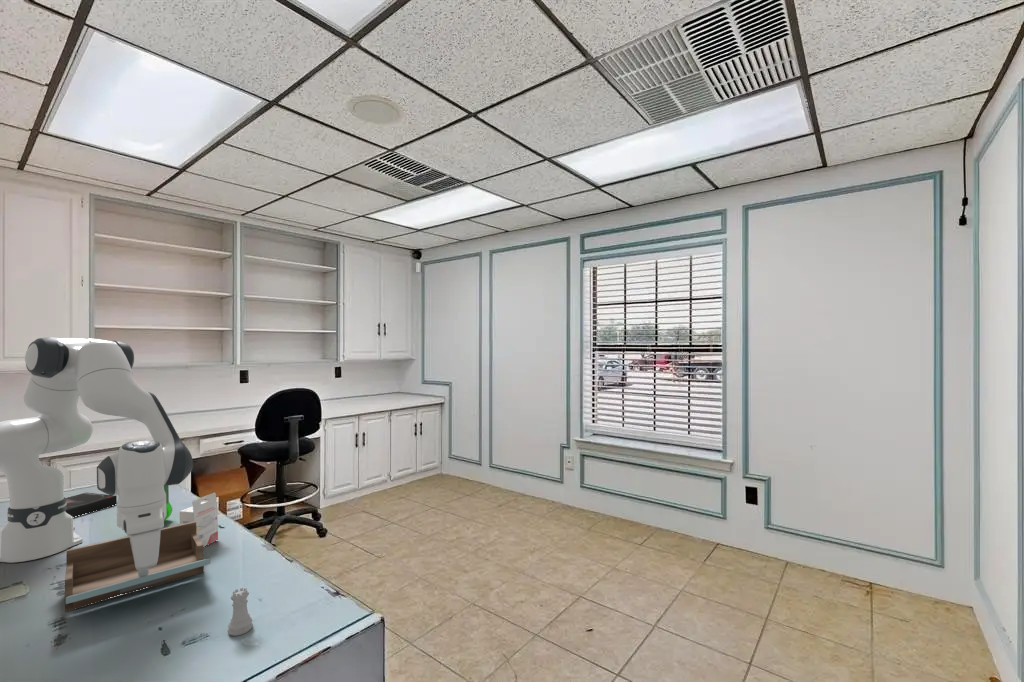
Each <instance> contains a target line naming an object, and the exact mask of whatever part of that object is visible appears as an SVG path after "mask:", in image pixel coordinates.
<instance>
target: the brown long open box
mask: <svg viewBox="0 0 1024 682" xmlns="http://www.w3.org/2000/svg"><path fill="white" fill-rule="evenodd" d="M65 551H66V555H65V557H66V559H65V560H66V562H65V563H66V565H65V572H64V573H65V575H64V613H67V612H70V611H69V610H71V611H74V610H76V609H75V608H78V609H80V608H79V607H81V608H83V607H82V606H84V607H86V606H85V605H88V604H91V603H95V602H98V601H101V600H105V599H108V598H110V597H114V596H117V595H120V594H125V593H129V592H133V591H136V590H140V589H143V588H146V587H151V586H154V587H157V586H156V585H158V586H160V585H159V584H161V585H164V584H167V582H168V583H171V582H174V581H173V580H175V581H177V579H178V580H181V579H180V578H182V579H184V578H188V577H192V576H195V575H199V574H202V573H203V574H204V573H205V569H204V567H205V566H201V567H198V568H194V569H190V570H187V571H183V572H180V573H176V574H173V575H169V576H166V580H164V581H161V582H157V583H154V584H150V585H147V586H143V587H140V588H136V589H133V590H129V591H126V592H122V593H120V589H119V590H115V591H112V592H108V593H105V594H101V595H97V596H94V597H90V598H87V599H83V600H80V601H76V602H72V603H69V604H66V597H68V596H71V595H75V594H79V593H82V592H86V591H90V590H93V589H97V588H101V587H105V586H108V585H112V584H116V583H119V582H123V581H127V580H130V579H134V578H138V577H139V576H138V570H136V567H135V563H134V558H133V553H132V549H131V544H130V538H129V536H128V535H127V536H122V537H118V538H114V539H109V540H105V541H101V542H100V541H99V542H96V543H92V544H86V545H83V546H78V547H72V548H70V549H69V548H67V549H65ZM204 552H205V551H204V548H203V544H202V542H201V540H200V538H199V537H198V535H197V533H196V521H193V522H189V523H184V524H180V523H179V524H176V525H172V526H168V527H167V526H166V527H163V528H161V534H160V546H159V556H158V561H157V564H156V565H155V566H153V567H149V573H148V575H149V574H152V573H156V572H160V571H163V570H167V569H171V568H174V567H178V566H182V565H185V564H189V563H193V562H196V561H200V560H205V558H204ZM170 581H171V582H170ZM163 583H164V584H163ZM151 588H152V587H151ZM140 591H141V590H140ZM133 593H134V592H133ZM105 601H106V600H105ZM98 603H99V602H98ZM95 604H96V603H95ZM91 605H92V604H91ZM88 606H89V605H88ZM73 609H74V610H73Z"/></svg>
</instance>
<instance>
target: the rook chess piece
mask: <svg viewBox="0 0 1024 682" xmlns="http://www.w3.org/2000/svg"><path fill="white" fill-rule="evenodd" d="M249 594H250V592H249V591H248V589H247V587H244V588H243V587H240V588H238V589H235V590H234V591H233V592H232V595H231V597H230V599H231V601H233V603H232V604H231V606H232V608H233V609H232V615H231V618H230V622H229V623H228V626H227V627H228V630H227V633H228V634H229V635H230V636H232V637H238V636H242V635H244V634H246V633H248V632H249V631H250V630H251V629H252V628H253V626H254V624H253V618H252V617H251V615H250V613H249V611H248V602H249V601H248V599H247V598H248V597H249Z"/></svg>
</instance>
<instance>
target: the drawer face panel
mask: <svg viewBox="0 0 1024 682" xmlns="http://www.w3.org/2000/svg"><path fill="white" fill-rule="evenodd" d="M210 564H211V558H206V559H205V558H204V560H200V561H196V562H193V563H189V564H185V565H182V566H178V567H174V568H171V569H167V570H163V571H160V572H156V573H152V574H149V575H147V576H143V577H138V578H134V579H130V580H127V581H123V582H119V583H116V584H112V585H108V586H105V587H101V588H97V589H93V590H90V591H86V592H82V593H79V594H75V595H71V596H68V597H66V604H69V603H72V602H76V601H80V600H83V599H87V598H90V597H94V596H97V595H101V594H105V593H108V592H112V591H115V590H119V589H120V593H122V592H126V591H129V590H133V589H136V588H140V587H143V586H147V585H150V584H154V583H157V582H161V581H164V580H166V576H169V575H173V574H176V573H180V572H183V571H187V570H190V569H194V568H198V567H201V566H204V567H205V566H208V565H210Z"/></svg>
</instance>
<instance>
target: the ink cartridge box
mask: <svg viewBox="0 0 1024 682" xmlns="http://www.w3.org/2000/svg"><path fill="white" fill-rule="evenodd" d="M204 500H205V501H204ZM206 500H207V501H206ZM191 503H192V506H189V507H187V508H185V509H182V510H179V525H180V524H184V523H189V522H193V521H196V533H197V535H198V537H199V538H200V540H201V542H202V544H203V547H204V546H206V545H208V544H210V543H212V542H214V541H216V540H219V530H218V529H219V527H218V526H219V525H218V524H219V523H218V521H219V519H218V502H217V494H216V492H213V493H209V494H207V495H205V496H202V497H200V498H197V499H195V500H192V502H191ZM216 542H217V541H216ZM214 543H215V542H214ZM212 544H213V543H212ZM210 545H211V544H210ZM208 546H209V545H208ZM206 547H207V546H206ZM204 548H205V547H204Z"/></svg>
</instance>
